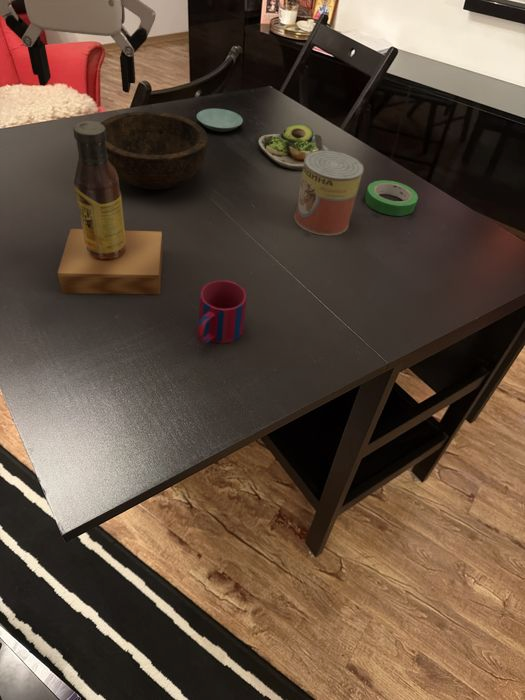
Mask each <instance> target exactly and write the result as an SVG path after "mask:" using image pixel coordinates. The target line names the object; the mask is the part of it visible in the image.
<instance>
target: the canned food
mask: <svg viewBox="0 0 525 700" xmlns="http://www.w3.org/2000/svg"><path fill="white" fill-rule="evenodd" d="M364 171H365V167H364V165H363V163H362V162H361V161H360V160H359V159H357V157H354V156H352V155H350V154H348V153H346V152H345V153H344V152H341V151H336V150H330V149H328V150H319V151H314V152H311V153H309V154H307V155H306V156H305V159H304V167H303V170H302V174H301V178H300V185H299V189H298V196H297V200H296V201H297V202H296V208H295V212H294V221H295V223H296V224H297V225H298V226H299V227H300V228H301V229H302V230H305V231H306V232H308V233H311V234H314V235H319V236H325V237H326V236H327V237H333V236H338V235H341V234H343V233H345V232H346V231H347V230H348V229H349V226H350V220H351V217H352V214H353V210H354V206H355V203H356V202H355V201H356V200H357V195H358V191H359V188H360V185H361V181H362V176H363V174H364Z"/></svg>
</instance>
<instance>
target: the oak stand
mask: <svg viewBox="0 0 525 700" xmlns="http://www.w3.org/2000/svg"><path fill="white" fill-rule="evenodd" d="M125 238H126V243H125V251H124V253H123V254H122V255H120V256H118V257H117V258H114V259H97V258H95V257H94V256H92V255H91V254H90V253H89V252H88V250H87V246H86V244H85V240H84V235H83V229H82V228H70V230H69V233H68V235H67V240H66V243H65V247H64V250H63V254H62V256H61V260H60V263H59V266H58V270H57V276H58V280H59V284H60V289H61V292H62V294H83V295H84V294H85V295H87V294H90V295H92V294H93V295H97V294H98V295H161V286H162V273H163V271H162V270H163V255H164V254H163V253H164V249H163V248H164V246H163V231H154V230H153V231H152V230H126V229H125Z"/></svg>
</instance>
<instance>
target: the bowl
mask: <svg viewBox="0 0 525 700" xmlns="http://www.w3.org/2000/svg"><path fill="white" fill-rule="evenodd" d="M100 123H101V124H103V125H104V127H105V129H106V136H107V137H106V149H107V154H108V160H109V162H110V163H111V164H112V165H113V166H114V168H115V169H116V171H117V174H118V178H119V179H120V180H121V181H123V182H125V183H127V184H129V185H131V186H134V187H135V188H136V187H137V188H139V189H140V188H141V189H145V190H166V189H167V190H168V189H172V188H175V187H178V186H180V185H183V184H184V183H186V182H188V181H189V180H191V179H192V178H193V177H194V175H195V174H197V172H198V171H199V169H200V168H201V166H202V164H203V162H204V160H205V156H206V151H207V145H208V139H209V138H208V134H207V132H206V130H205V129H204V128H203V127H202V126H201V125H200V124H198V123H196V122H195V121H193V120H191V119H189V118H187V117H184V116H180V115H177V114H173V113H168V112H162V111H161V112H160V111H147V110H146V111H131V112H124V113H120V114H116V115H113V116H110V117H108V118H106V119H104V120H102V121H101V122H100Z"/></svg>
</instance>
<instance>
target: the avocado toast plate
mask: <svg viewBox="0 0 525 700" xmlns="http://www.w3.org/2000/svg"><path fill="white" fill-rule="evenodd" d="M322 141H323V139H322V136H321V135H319V134H316V133H315V134H314V131H313V129H312V128H311V127H310V126H309V125H307V124H302V123H295V124H290V125H287V126H286V128H283V132H282V133H270V134H264V135H262V136H260V137H259V139H258V140H257V144H258V148H259V150H260V151H261V152H262V153H264V154H265V155H266V156H267V157H268V158H269V159H270V160H272V161H273V162H275V164H278V165H279V166H280V167H282V168H286V169H289V170H293V171H294V170H295V171H303V167H304V159H305V156H306V155H307V154H309V153H311V152H314V151H319V150H329V148H328V147H326V146H325V145H323V142H322Z"/></svg>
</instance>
